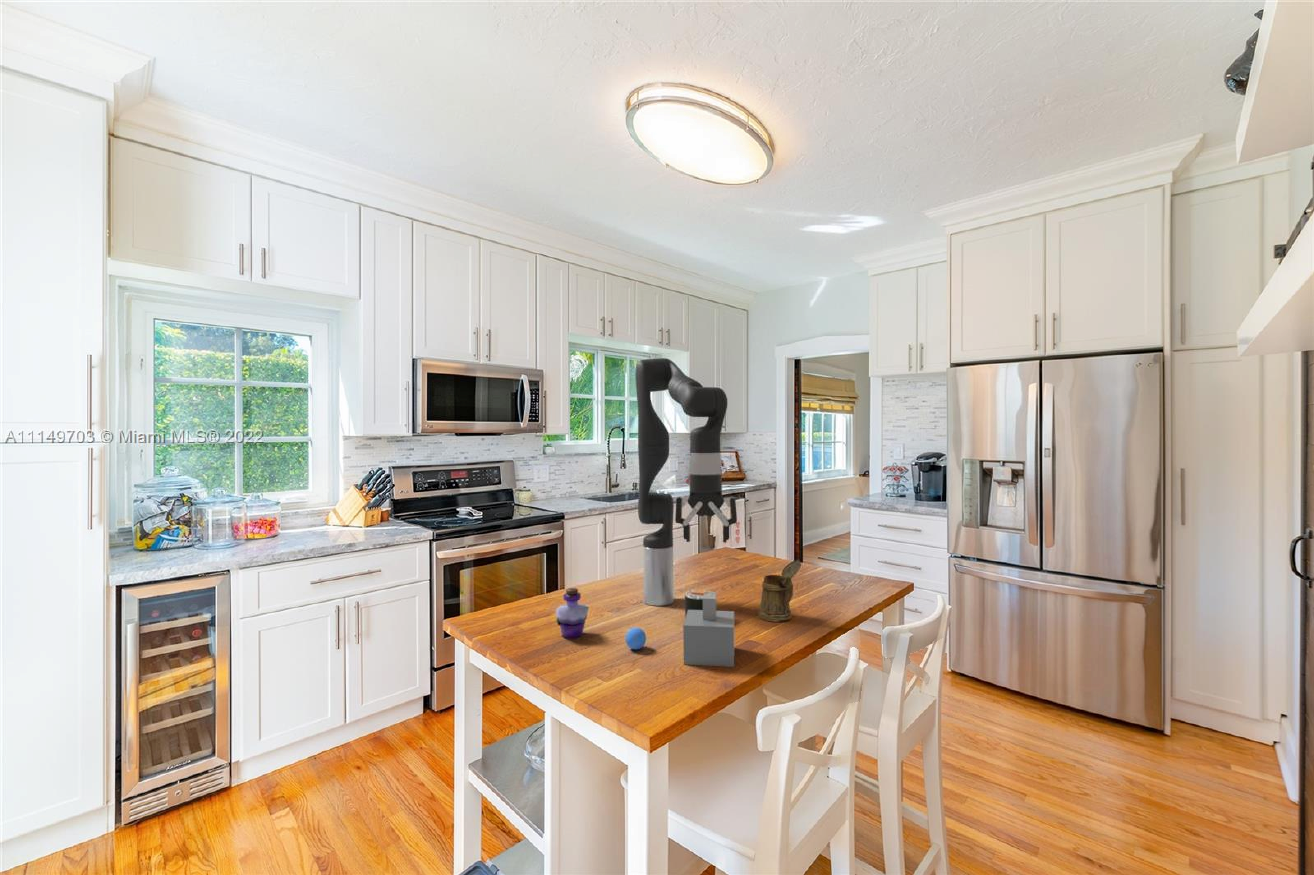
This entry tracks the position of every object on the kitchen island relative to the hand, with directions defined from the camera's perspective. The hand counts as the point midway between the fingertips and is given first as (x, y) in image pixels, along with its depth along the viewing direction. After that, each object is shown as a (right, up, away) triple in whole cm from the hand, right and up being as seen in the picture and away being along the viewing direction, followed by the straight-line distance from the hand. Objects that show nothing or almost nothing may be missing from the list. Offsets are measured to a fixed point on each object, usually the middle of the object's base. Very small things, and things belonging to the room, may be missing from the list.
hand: (706, 541), depth 131 cm
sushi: (+1, -27, +25) cm, 37 cm away
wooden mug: (+23, -26, +25) cm, 43 cm away
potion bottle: (-33, -27, +14) cm, 45 cm away
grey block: (+1, -27, 0) cm, 27 cm away
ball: (-17, -24, +5) cm, 30 cm away
